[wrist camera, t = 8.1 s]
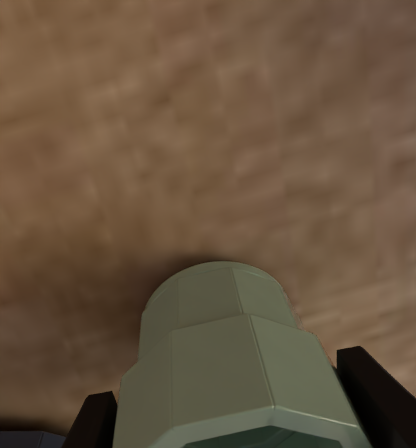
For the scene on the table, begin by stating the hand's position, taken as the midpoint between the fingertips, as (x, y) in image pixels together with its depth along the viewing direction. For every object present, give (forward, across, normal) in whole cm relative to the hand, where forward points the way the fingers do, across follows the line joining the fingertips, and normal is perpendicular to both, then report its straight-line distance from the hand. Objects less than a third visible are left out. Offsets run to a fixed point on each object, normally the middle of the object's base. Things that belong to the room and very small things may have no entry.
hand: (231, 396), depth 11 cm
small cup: (+3, 0, 0) cm, 3 cm away
